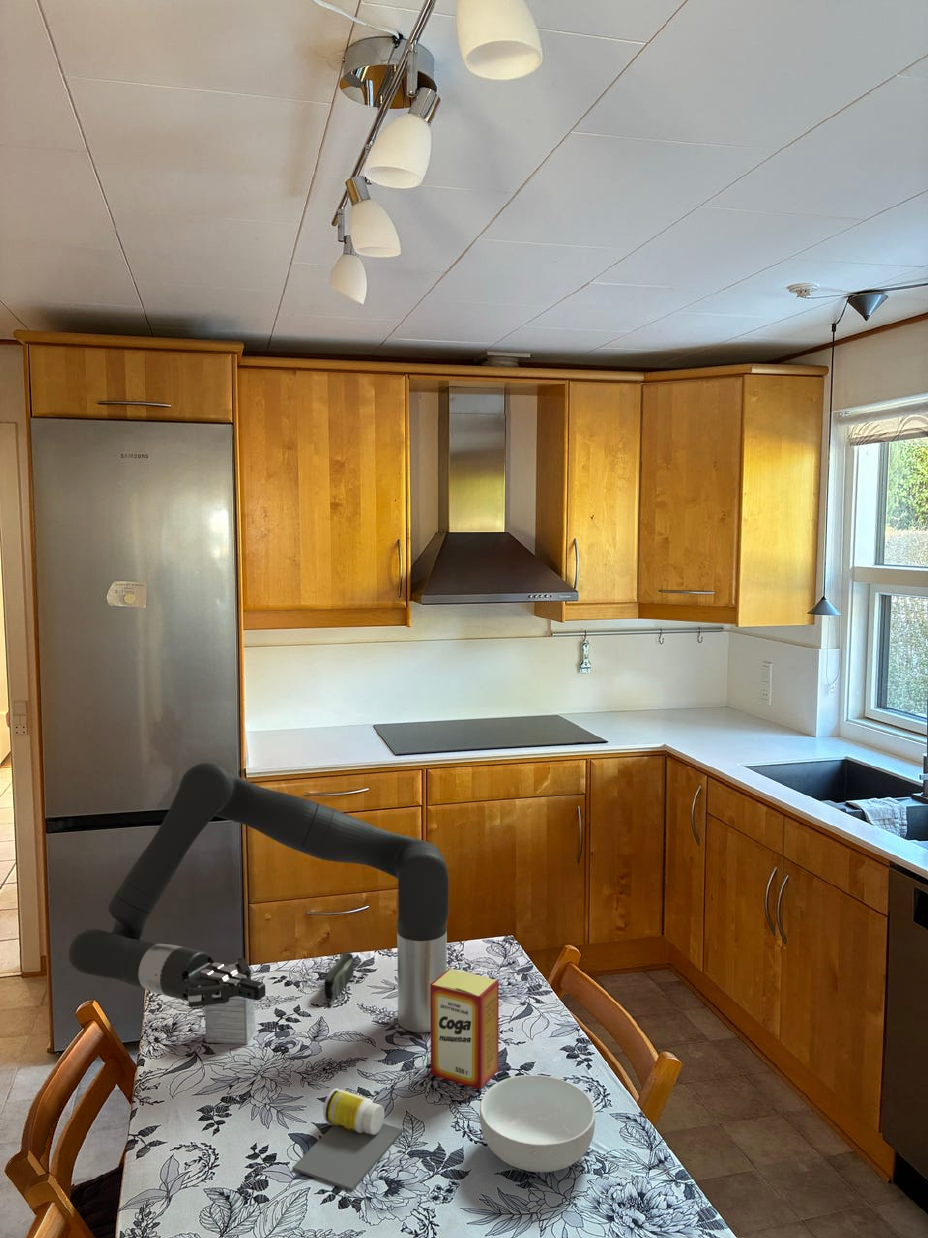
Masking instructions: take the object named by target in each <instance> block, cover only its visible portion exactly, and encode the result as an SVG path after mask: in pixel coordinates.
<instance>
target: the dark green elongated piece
mask: <svg viewBox="0 0 928 1238" xmlns="http://www.w3.org/2000/svg"><path fill="white" fill-rule="evenodd" d="M354 968H355V967H354V956H353V954H351V953H350V952H344V953H342V954H341V956H340V957H339V959H338V960H337V961H336V962H335V964H334V965H333V966H332V967H331V968H330V969H329V970H328V971H327V973H326V976H325V978H324V979H325V980H324V987H323V988H324V998H325V1000H327V1001H329V1004H328V1006H329V1007H330V1008H331V1007H332V1006H333V1005H334V1004H335V1001H336V999H337V998H338V997H339V995H340V994H341V993H342V992H343V991H344V989H345V987H346V986H347V985H348V984H349V983H350V981H351V980H352V978H353V975H354V974H355V973H354V970H355V969H354Z"/></svg>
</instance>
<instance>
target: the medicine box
mask: <svg viewBox="0 0 928 1238" xmlns="http://www.w3.org/2000/svg"><path fill="white" fill-rule="evenodd" d="M255 1007H256V1006H255V1000H252V999H247V998H243V997H239V998H236V999H234V998H229V1002H227V1003H221V1004H212V1005H204V1025H205V1026H204V1027H205V1028H204V1030H205V1042H206V1043H216V1044H238V1045H239V1044H240V1045H244V1044H245V1045H248V1044H249V1042H250V1041H251V1039H252V1038H253V1036H254V1035H255V1033H256V1015H255V1014H256V1009H255Z"/></svg>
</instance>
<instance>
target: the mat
mask: <svg viewBox="0 0 928 1238" xmlns="http://www.w3.org/2000/svg"><path fill="white" fill-rule="evenodd" d="M403 1130H404V1129H403V1128H400V1127H399V1128H398V1127H395V1126H393V1125H389V1124H386V1123H383V1124H382V1126H381V1128H380V1130H379V1131H378V1133H377V1134H375V1135H372V1134H369V1133H366V1132H363V1133H358V1132H355V1131H352V1130H349V1129H346V1128H343V1127H340V1126H337V1125H335V1124H332V1126H331V1127H330V1128H329V1129H328V1131H326V1132H325V1133H324V1135H322V1137H320V1139H319V1140H318V1141H317V1142H316V1143H315V1144H314V1145H312V1146H311V1148H310V1149H309V1150H308V1151H307V1152H306V1153H305V1154H304V1155H303V1156H302V1157H301V1158H299V1160H298V1161H297V1162H295V1164H294V1165H293V1166H292V1168H291V1169H292V1170H293V1171H294V1172H297V1173H300V1174H303V1175H306V1176H309V1177H311V1178H314V1179H317V1180H319V1181H322V1182H325V1183H329V1184H330V1185H333V1186H336V1187H338V1188H339V1187H340V1188H343V1189H345V1190H348V1191H350V1192H353V1191H354V1190H355V1189H356V1187H358V1186H359V1184H360V1183H361V1182H362V1181H363V1180H364V1178H365V1177H366V1176H367V1175H368V1174H369V1172H370V1171H372V1169H373V1168H374V1166H376V1164H377V1162H379V1160H381V1158H382V1157H383V1156H384V1155H385V1154H386V1152H387V1151H388V1150H389V1149H390V1148H391V1146H393V1144H394V1143H395V1142H396V1141H397V1140H398V1138H399V1137H400V1136H401V1135H402V1133H403V1132H404V1131H403Z"/></svg>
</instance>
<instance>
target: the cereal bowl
mask: <svg viewBox="0 0 928 1238" xmlns="http://www.w3.org/2000/svg"><path fill="white" fill-rule="evenodd" d="M479 1123H480V1128H481V1133H482V1137H483V1139H484V1141H485V1143H486V1144H487V1146H488V1147H489V1148H490V1150H491V1151H492V1152H493V1154H494V1155H496V1156H497V1158H499V1159H500V1160H502V1161H503V1162H505V1164H508V1165H510V1166H512V1167H514V1168H517V1169H519V1170H523V1171H526V1172H531V1173H532V1172H533V1173H551V1172H557V1171H560V1170H563V1169H566V1168H568V1167H570V1166H572V1165H574V1164H575V1163H576V1162H578V1161H579V1160H580V1159H582V1157H583V1156H584V1155H585V1154H586V1152H587V1151H588V1149H590V1146H591V1143H592V1141H593V1138H594V1134H595V1127H596V1125H595V1124H596V1109H595V1106H594V1102H593V1101H592V1099H591V1098H590V1097H589V1095H588V1094H587V1093H586V1092H585V1091H584V1090H582V1089H581V1088H580V1087H578V1086H576V1085H574V1084H573V1083H571V1082H570V1081H569V1082H568V1081H566V1080H565V1079H564V1080H563V1079H560V1078H557V1077H553V1076H548V1075H541V1074H523V1075H517V1076H511V1077H508V1078H505V1079H502V1080H500V1081H498V1082H496V1083H495V1084H494V1085H492V1086H490V1088H488V1089H487V1090H486V1092H484V1095H483V1096H482V1098H481V1101H480V1106H479Z"/></svg>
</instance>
